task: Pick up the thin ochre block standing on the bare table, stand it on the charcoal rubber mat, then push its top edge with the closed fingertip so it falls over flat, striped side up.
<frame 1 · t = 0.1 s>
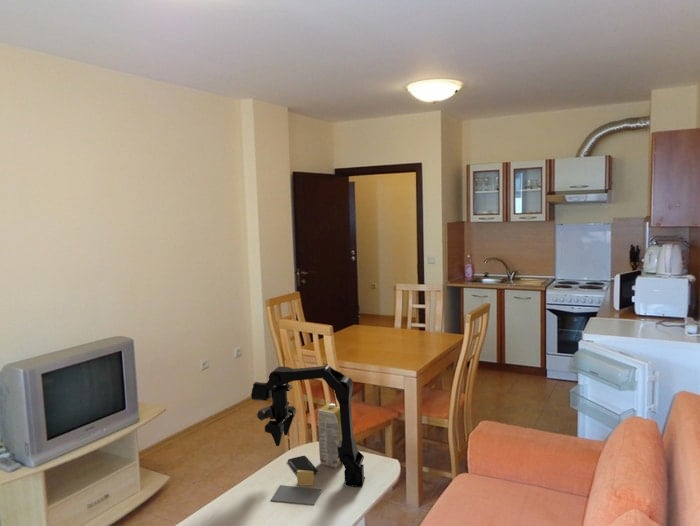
hand: (281, 440, 202), 14 cm above the table, fingers open, 9 cm apart
ochre block: (305, 484, 198), on the table
phone: (302, 468, 210), on the table
juice carton: (332, 463, 213), on the table
charcoal mat: (296, 495, 190), on the table
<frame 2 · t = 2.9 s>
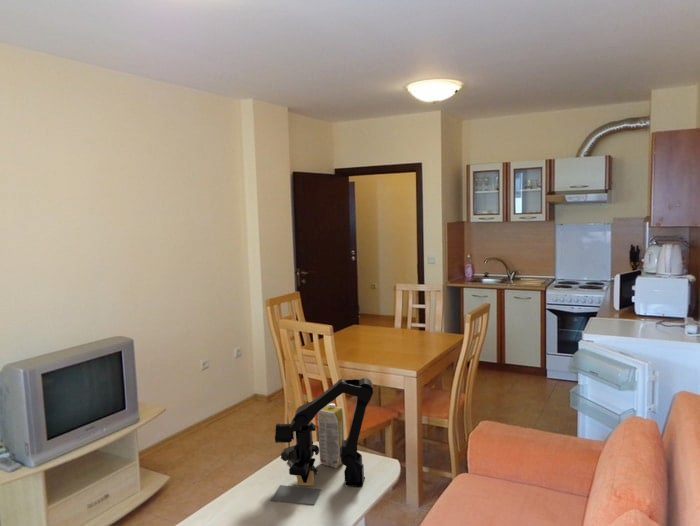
hand: (305, 481, 197), 1 cm above the table, fingers closed on ochre block, 1 cm apart
ochre block: (305, 483, 198), on the table, touching gripper
everything else where it was.
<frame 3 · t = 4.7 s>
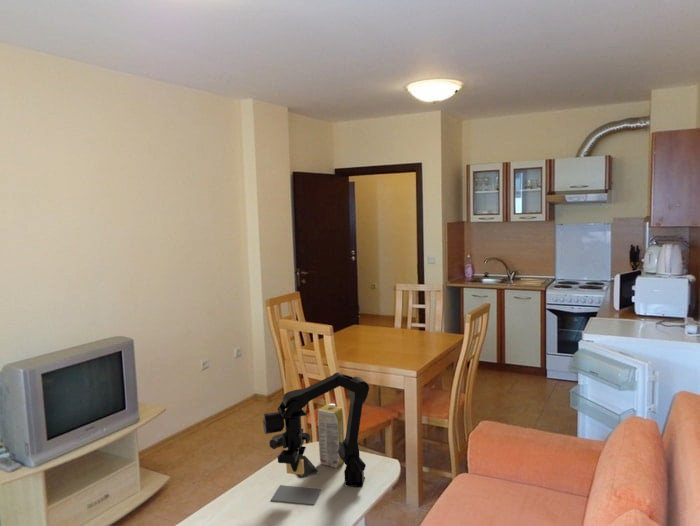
hand: (295, 470, 189), 10 cm above the table, fingers closed on ochre block
ochre block: (295, 472, 189), point 8 cm above the table, touching gripper
everything else where it was.
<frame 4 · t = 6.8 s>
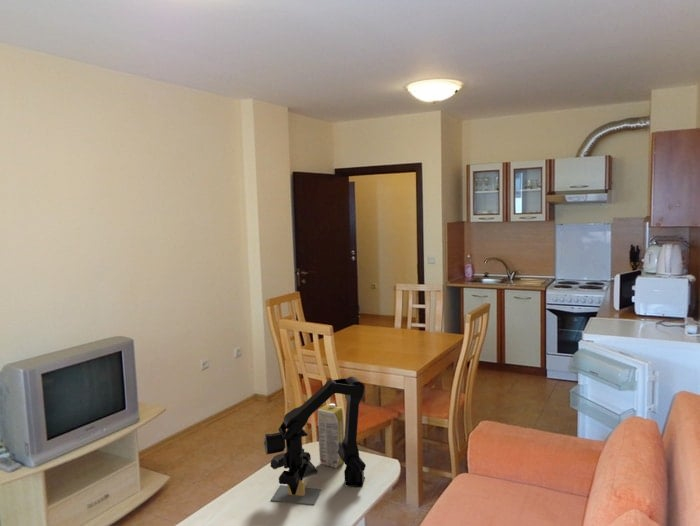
hand: (296, 490, 190), 2 cm above the table, fingers open, 5 cm apart
ochre block: (296, 494, 190), resting on charcoal mat
everything else where it was.
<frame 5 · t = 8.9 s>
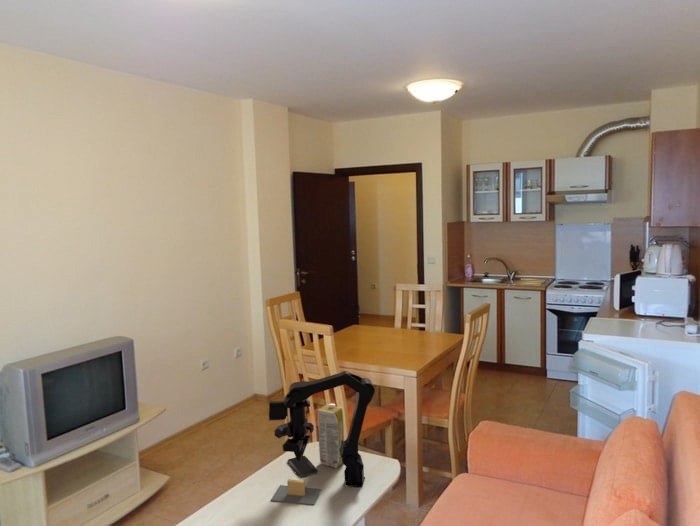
hand: (299, 458, 194), 11 cm above the table, fingers closed
nothing on the table moved.
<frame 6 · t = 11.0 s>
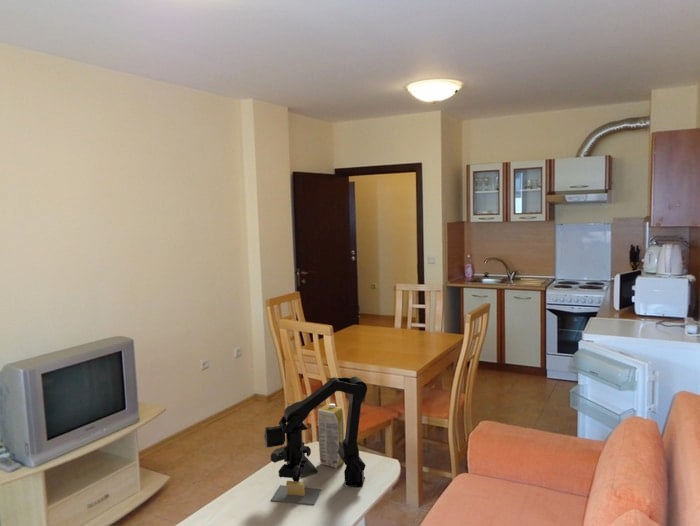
hand: (296, 483, 190), 4 cm above the table, fingers closed
ochre block: (296, 493, 190), point 1 cm above the table, tilted 16°, touching charcoal mat
everything else where it was.
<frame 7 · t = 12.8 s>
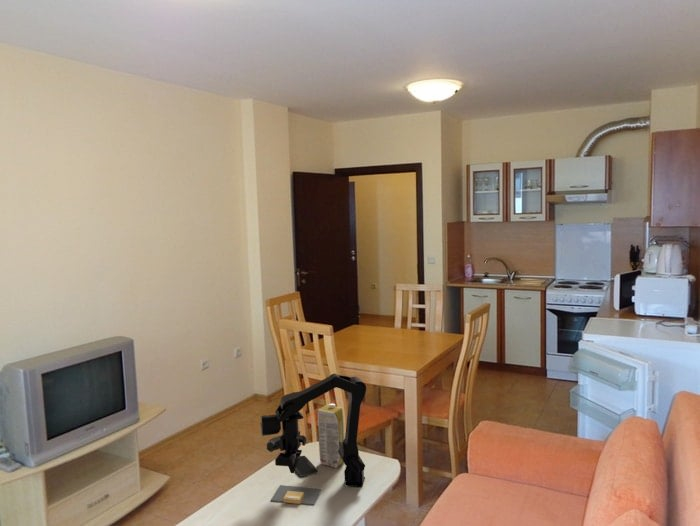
hand: (292, 472, 190), 8 cm above the table, fingers closed
ochre block: (295, 493, 189), point 1 cm above the table, tilted 90°, touching charcoal mat
everything else where it was.
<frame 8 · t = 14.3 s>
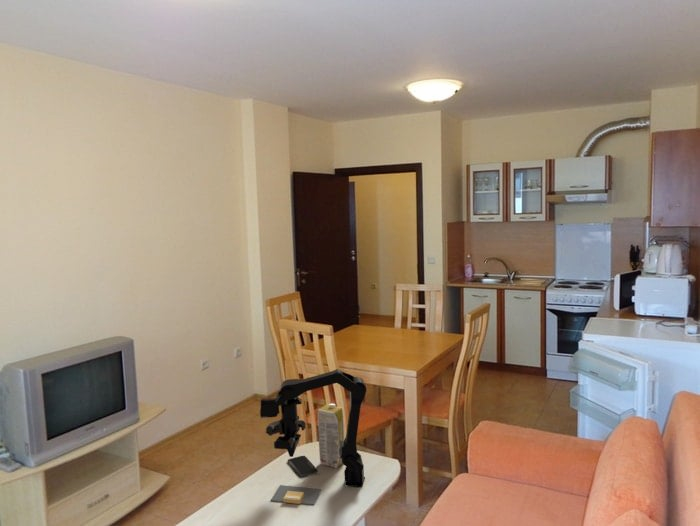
hand: (291, 456, 194), 12 cm above the table, fingers closed
nothing on the table moved.
at the end: ochre block tilted 90°; ochre block inside the target area (0.1 cm from its centre), point 1.1 cm above the table; the gripper is holding nothing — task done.
